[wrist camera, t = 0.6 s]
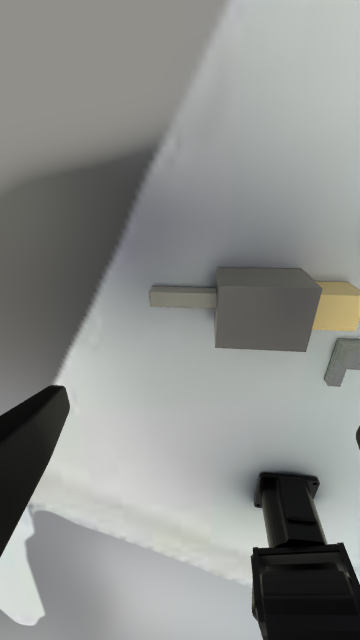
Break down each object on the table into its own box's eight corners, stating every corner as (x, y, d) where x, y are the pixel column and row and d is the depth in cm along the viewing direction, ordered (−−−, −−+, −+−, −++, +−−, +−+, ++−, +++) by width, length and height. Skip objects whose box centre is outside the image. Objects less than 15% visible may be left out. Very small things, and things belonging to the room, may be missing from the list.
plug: (335, 324, 20) (361, 354, 17) (154, 318, 22) (143, 344, 18) (352, 269, 18) (386, 290, 15) (151, 265, 20) (138, 284, 16)
